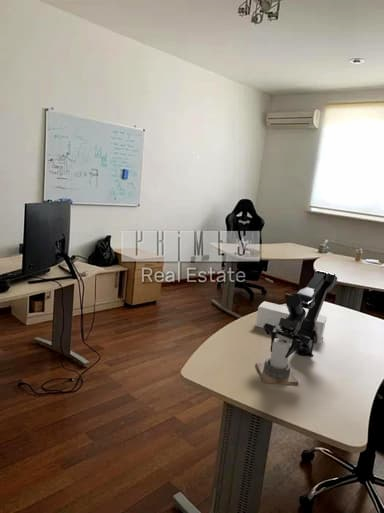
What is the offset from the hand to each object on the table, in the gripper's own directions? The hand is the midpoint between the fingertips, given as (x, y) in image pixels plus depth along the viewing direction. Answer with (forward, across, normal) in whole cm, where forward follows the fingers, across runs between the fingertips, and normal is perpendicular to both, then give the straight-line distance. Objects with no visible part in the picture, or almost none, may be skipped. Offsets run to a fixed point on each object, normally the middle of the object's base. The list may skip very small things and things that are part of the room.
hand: (278, 354), depth 145 cm
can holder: (+5, 0, +7) cm, 9 cm away
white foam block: (-27, -15, +41) cm, 51 cm away
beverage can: (+4, 0, +6) cm, 7 cm away
